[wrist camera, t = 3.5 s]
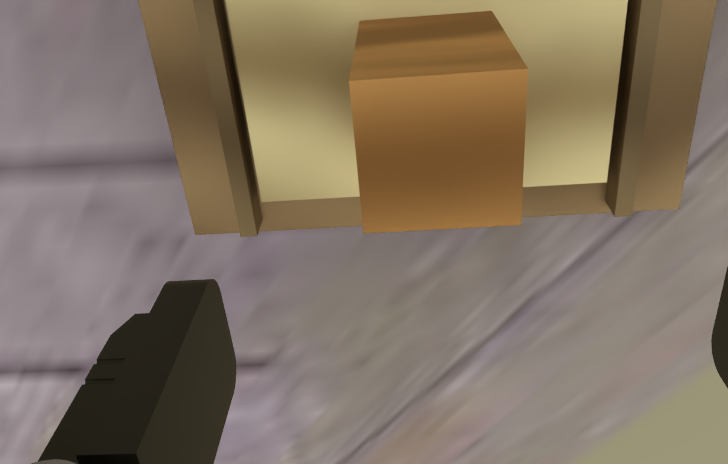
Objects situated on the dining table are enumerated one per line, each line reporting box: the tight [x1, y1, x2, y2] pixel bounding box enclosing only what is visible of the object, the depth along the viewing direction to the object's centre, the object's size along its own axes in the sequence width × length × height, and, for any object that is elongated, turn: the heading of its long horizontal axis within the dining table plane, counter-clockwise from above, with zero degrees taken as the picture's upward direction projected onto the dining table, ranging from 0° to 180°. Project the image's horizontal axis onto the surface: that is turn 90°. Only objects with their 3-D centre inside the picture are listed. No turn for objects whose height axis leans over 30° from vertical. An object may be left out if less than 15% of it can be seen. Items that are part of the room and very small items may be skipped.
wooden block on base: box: [225, 0, 628, 233], centre depth 19 cm, size 8×12×7 cm, turn 95°
